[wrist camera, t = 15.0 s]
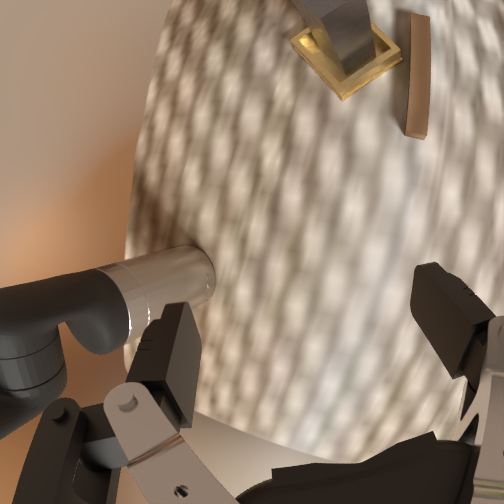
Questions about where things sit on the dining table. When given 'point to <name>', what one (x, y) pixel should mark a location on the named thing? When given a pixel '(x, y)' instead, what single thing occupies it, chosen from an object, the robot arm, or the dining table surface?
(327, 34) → the stop bar
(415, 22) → the door edge strip
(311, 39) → the keeper
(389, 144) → the dining table surface
